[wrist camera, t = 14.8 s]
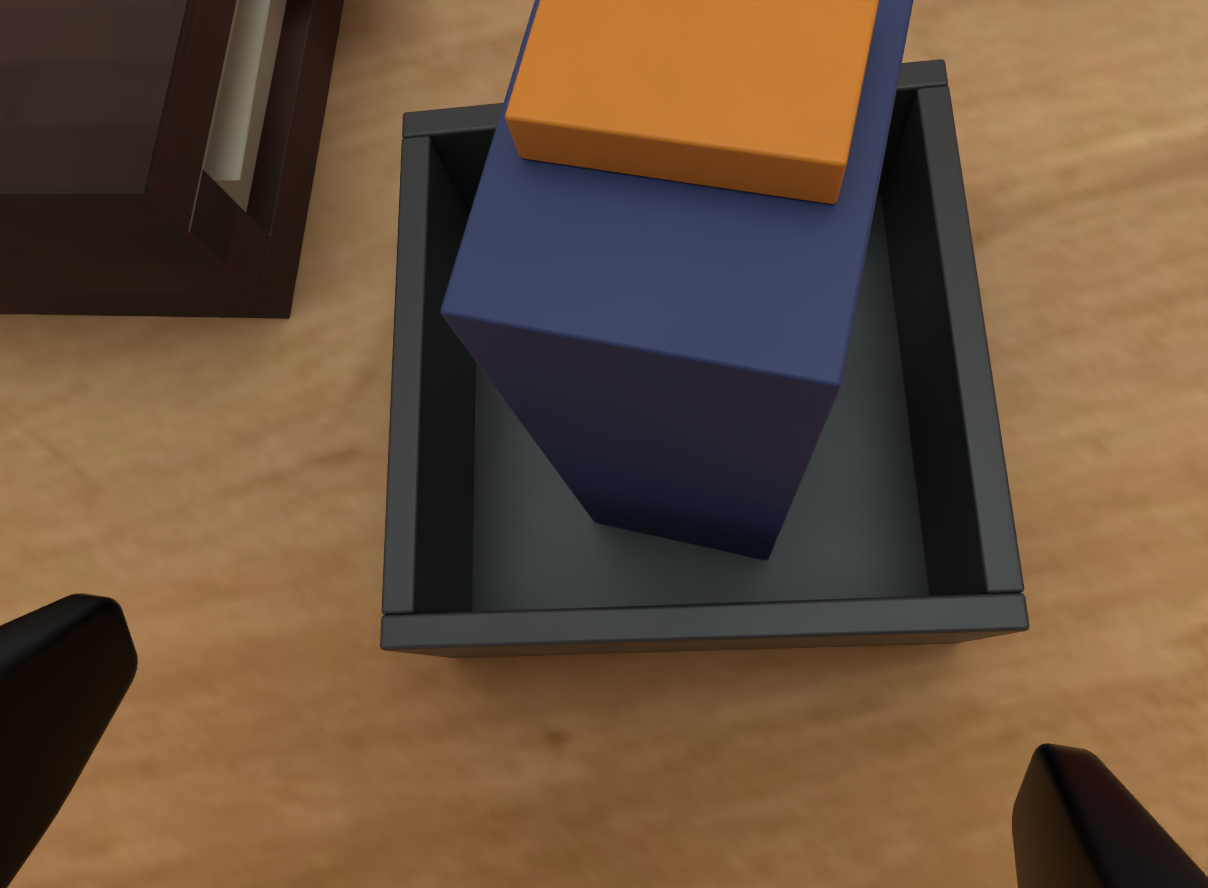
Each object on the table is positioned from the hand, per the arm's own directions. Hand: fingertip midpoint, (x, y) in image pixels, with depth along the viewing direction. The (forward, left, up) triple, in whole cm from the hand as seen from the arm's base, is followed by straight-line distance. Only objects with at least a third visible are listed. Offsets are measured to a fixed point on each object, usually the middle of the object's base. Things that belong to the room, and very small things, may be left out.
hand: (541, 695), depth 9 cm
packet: (+7, -2, -13) cm, 15 cm away
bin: (+7, -1, -14) cm, 15 cm away
